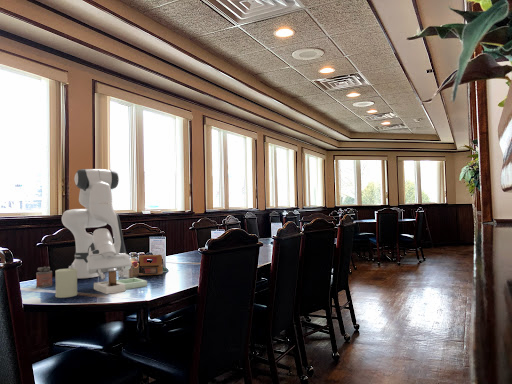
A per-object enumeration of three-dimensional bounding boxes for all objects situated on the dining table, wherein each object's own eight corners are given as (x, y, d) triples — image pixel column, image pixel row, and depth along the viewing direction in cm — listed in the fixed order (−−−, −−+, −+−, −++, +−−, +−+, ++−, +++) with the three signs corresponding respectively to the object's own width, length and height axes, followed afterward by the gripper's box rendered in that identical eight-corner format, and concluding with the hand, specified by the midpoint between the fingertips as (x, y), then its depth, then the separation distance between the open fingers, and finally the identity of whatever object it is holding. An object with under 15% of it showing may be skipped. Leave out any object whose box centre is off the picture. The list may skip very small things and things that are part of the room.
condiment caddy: (175, 270, 262) (175, 251, 262) (174, 277, 234) (173, 256, 235) (129, 272, 257) (129, 252, 258) (122, 279, 230) (122, 258, 230)
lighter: (50, 285, 216) (50, 265, 217) (53, 285, 214) (53, 266, 215) (34, 287, 210) (34, 267, 210) (38, 288, 208) (38, 268, 208)
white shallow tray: (93, 289, 203) (93, 282, 203) (111, 286, 208) (111, 280, 209) (106, 294, 190) (106, 287, 191) (125, 291, 196) (125, 284, 196)
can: (76, 296, 186) (76, 269, 186) (53, 298, 183) (53, 270, 184) (78, 292, 195) (78, 266, 195) (57, 294, 192) (56, 268, 193)
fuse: (106, 290, 197) (106, 268, 197) (115, 288, 199) (114, 267, 200) (110, 291, 194) (109, 269, 194) (118, 289, 196) (118, 268, 197)
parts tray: (112, 285, 211) (112, 280, 211) (134, 282, 218) (134, 277, 219) (123, 289, 200) (123, 284, 200) (147, 286, 208) (147, 280, 208)
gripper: (126, 257, 212) (133, 279, 204) (84, 260, 200) (89, 284, 192) (129, 248, 209) (136, 270, 200) (86, 252, 197) (91, 275, 189)
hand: (112, 277), depth 196 cm, fingers open, 7 cm apart
